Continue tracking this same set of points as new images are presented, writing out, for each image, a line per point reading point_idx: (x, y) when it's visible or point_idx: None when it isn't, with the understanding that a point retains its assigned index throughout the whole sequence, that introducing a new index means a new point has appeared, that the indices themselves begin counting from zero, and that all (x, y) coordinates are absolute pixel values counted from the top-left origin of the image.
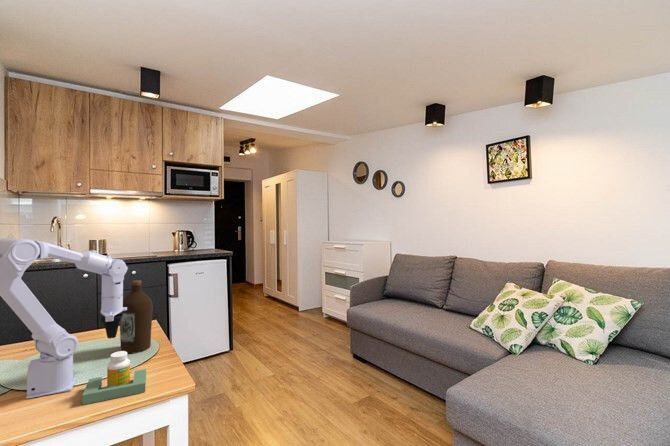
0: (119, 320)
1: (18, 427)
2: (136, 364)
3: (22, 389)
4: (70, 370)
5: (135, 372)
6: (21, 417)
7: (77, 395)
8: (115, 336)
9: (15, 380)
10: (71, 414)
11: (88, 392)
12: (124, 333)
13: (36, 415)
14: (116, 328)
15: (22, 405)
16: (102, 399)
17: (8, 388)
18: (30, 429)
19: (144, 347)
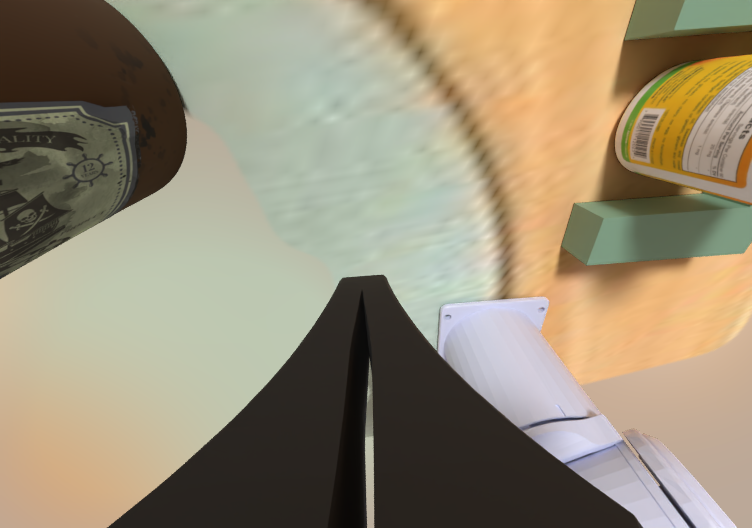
0: (586, 485)
1: (684, 345)
2: (390, 58)
3: None
4: (543, 353)
5: (706, 19)
6: (629, 355)
7: (599, 267)
8: (387, 281)
9: (368, 426)
10: None
11: (738, 237)
12: (72, 217)
13: (649, 330)
14: (427, 344)
15: None
16: None
17: None
18: (725, 321)
19: (113, 14)
